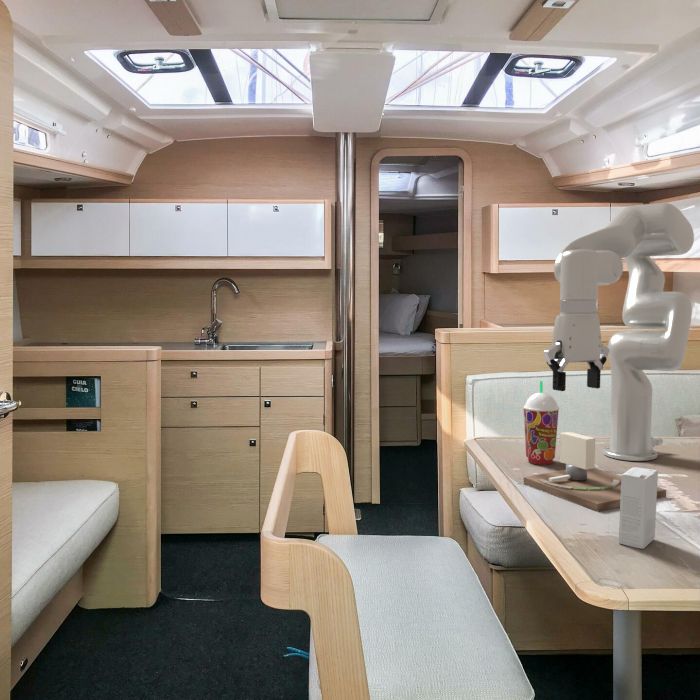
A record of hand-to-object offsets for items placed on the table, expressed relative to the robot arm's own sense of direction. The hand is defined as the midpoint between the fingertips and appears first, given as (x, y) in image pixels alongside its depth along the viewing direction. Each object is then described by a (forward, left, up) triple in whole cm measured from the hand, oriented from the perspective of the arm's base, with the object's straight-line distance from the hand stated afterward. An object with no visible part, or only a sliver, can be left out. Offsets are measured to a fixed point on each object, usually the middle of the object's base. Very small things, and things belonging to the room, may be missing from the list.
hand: (576, 389), depth 144 cm
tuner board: (-1, +4, -21) cm, 22 cm away
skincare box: (+15, +29, -21) cm, 39 cm away
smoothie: (-7, -19, -21) cm, 29 cm away
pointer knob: (+2, 0, -19) cm, 19 cm away
